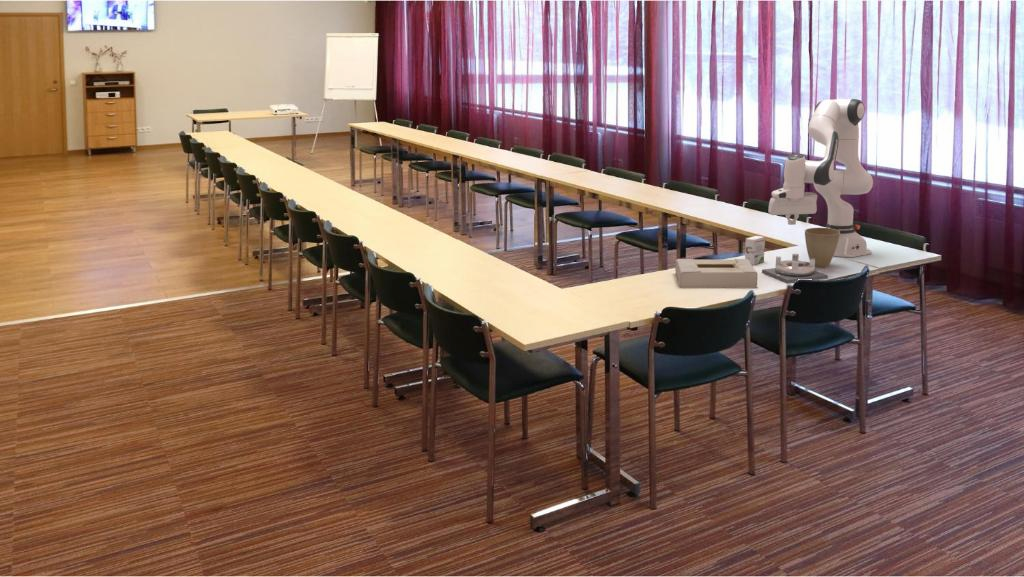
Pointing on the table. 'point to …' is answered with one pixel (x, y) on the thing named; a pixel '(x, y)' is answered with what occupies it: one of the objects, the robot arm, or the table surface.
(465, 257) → the table surface
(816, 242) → the plant pot
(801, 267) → the ring nut
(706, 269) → the box
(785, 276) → the stud plate
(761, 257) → the ink box
